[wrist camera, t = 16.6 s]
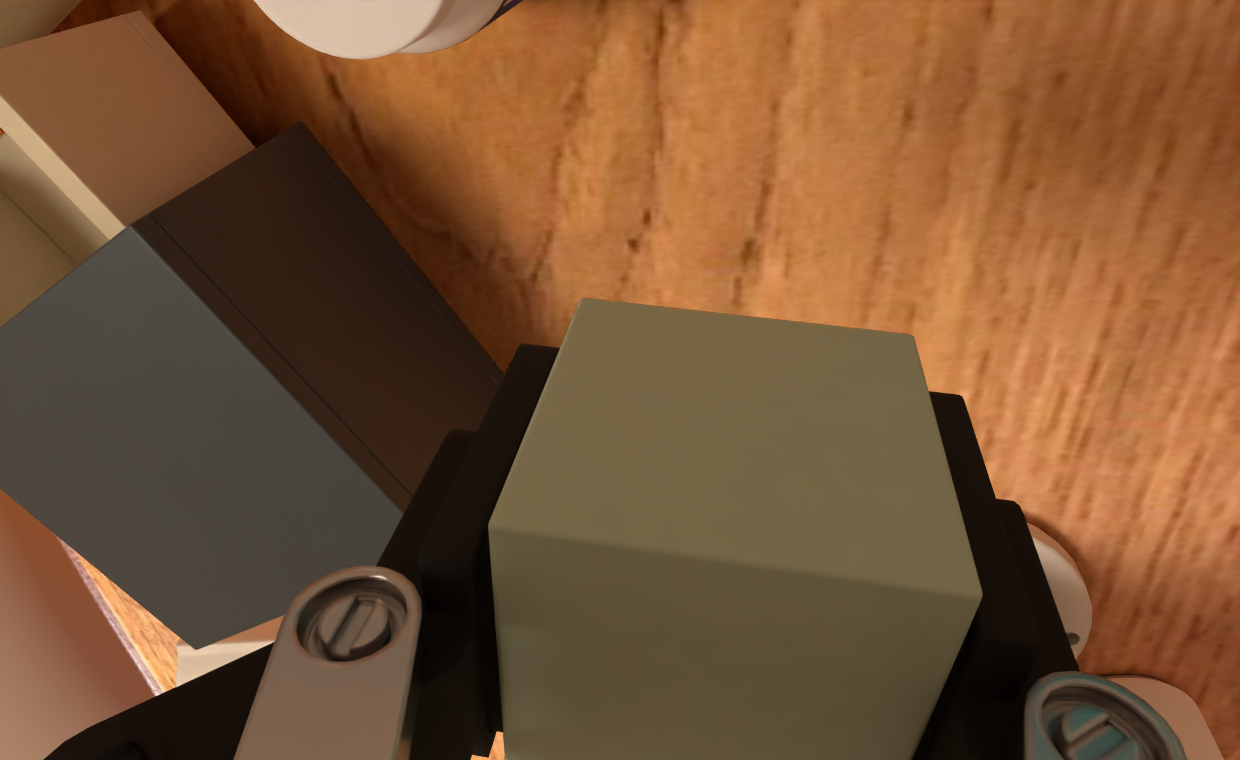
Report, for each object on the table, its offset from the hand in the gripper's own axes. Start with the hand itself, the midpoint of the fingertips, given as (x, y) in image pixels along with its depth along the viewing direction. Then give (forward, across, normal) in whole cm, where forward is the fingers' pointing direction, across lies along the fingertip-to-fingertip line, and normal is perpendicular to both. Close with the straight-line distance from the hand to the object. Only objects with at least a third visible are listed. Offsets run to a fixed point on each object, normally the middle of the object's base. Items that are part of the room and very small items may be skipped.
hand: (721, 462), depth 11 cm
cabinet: (+17, +17, +11) cm, 26 cm away
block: (0, 0, 0) cm, 0 cm away
